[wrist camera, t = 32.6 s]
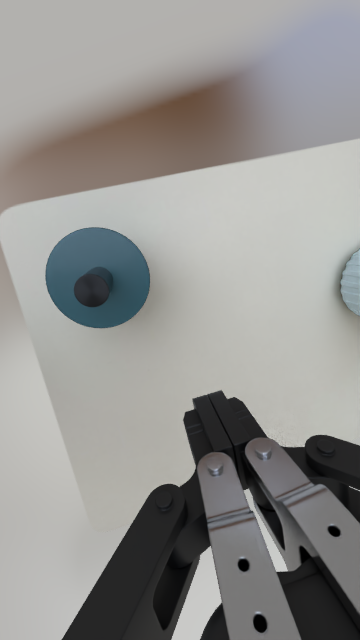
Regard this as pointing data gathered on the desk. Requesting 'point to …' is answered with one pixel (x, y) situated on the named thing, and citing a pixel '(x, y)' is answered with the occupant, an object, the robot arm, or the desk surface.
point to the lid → (97, 277)
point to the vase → (352, 283)
